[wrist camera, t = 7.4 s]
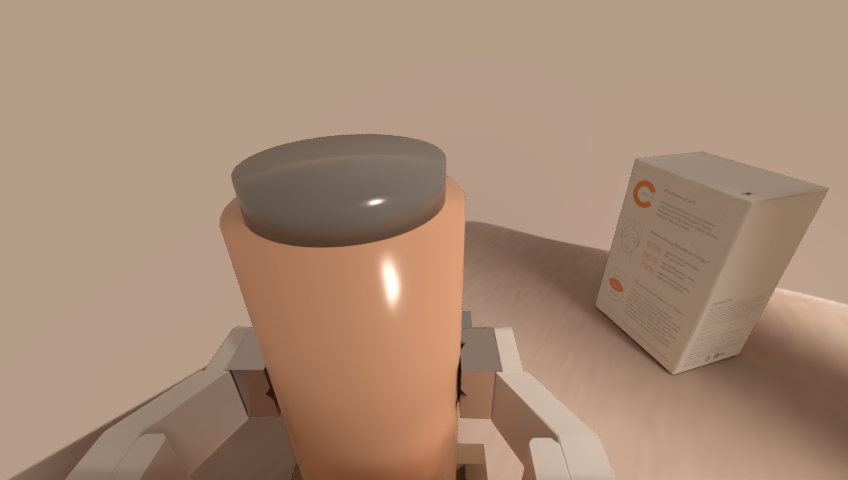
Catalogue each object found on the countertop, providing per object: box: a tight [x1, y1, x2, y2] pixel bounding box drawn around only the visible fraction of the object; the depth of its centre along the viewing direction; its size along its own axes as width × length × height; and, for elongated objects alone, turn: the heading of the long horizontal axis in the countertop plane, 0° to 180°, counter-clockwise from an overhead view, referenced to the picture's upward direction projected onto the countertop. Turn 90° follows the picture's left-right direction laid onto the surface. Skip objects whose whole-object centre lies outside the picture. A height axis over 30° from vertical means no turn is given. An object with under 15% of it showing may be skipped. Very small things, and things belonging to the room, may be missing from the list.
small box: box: [595, 152, 829, 374], centre depth 27 cm, size 8×6×13 cm
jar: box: [220, 134, 466, 480], centre depth 10 cm, size 5×5×13 cm
